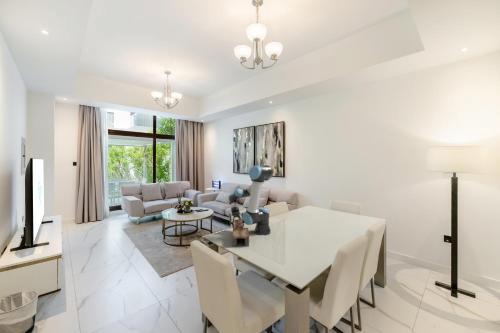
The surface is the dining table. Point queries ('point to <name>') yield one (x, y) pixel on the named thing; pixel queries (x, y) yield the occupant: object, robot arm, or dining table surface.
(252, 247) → the dining table surface
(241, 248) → the dining table surface
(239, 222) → the cord reel
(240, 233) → the bridge shelf
